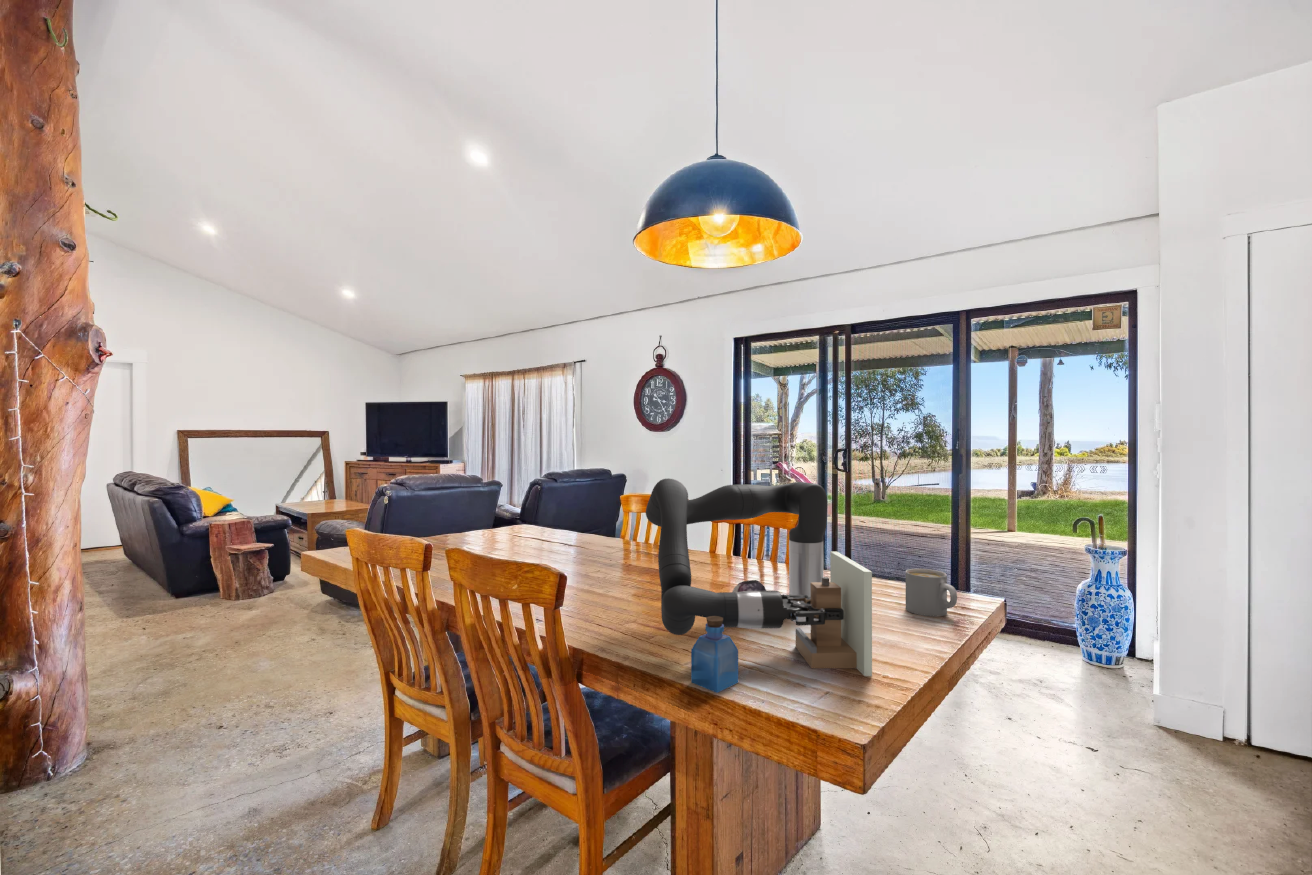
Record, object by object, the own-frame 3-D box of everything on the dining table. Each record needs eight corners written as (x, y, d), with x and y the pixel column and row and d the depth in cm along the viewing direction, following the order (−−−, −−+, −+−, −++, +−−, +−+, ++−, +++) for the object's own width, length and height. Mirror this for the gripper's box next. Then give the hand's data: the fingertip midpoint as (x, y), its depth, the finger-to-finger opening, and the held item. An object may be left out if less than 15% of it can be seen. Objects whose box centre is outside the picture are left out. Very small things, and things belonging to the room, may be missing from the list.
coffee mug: (897, 607, 158) (897, 570, 158) (927, 603, 161) (927, 567, 161) (934, 622, 145) (934, 581, 145) (966, 618, 148) (966, 578, 148)
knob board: (810, 638, 124) (810, 575, 124) (833, 638, 124) (833, 575, 124) (816, 646, 119) (816, 580, 119) (841, 646, 120) (841, 580, 120)
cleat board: (790, 640, 132) (790, 551, 132) (837, 639, 132) (836, 551, 132) (817, 676, 112) (817, 572, 112) (872, 676, 112) (871, 571, 112)
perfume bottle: (712, 673, 113) (712, 611, 114) (738, 682, 109) (738, 618, 109) (691, 682, 109) (691, 618, 109) (717, 692, 105) (716, 626, 105)
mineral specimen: (731, 602, 156) (746, 569, 154) (766, 623, 151) (782, 589, 150) (718, 610, 147) (733, 575, 146) (755, 633, 143) (771, 597, 141)
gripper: (765, 601, 114) (849, 600, 115) (751, 582, 129) (826, 582, 129) (765, 639, 114) (849, 638, 115) (751, 616, 129) (826, 616, 129)
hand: (837, 608), depth 122 cm, fingers open, 6 cm apart
